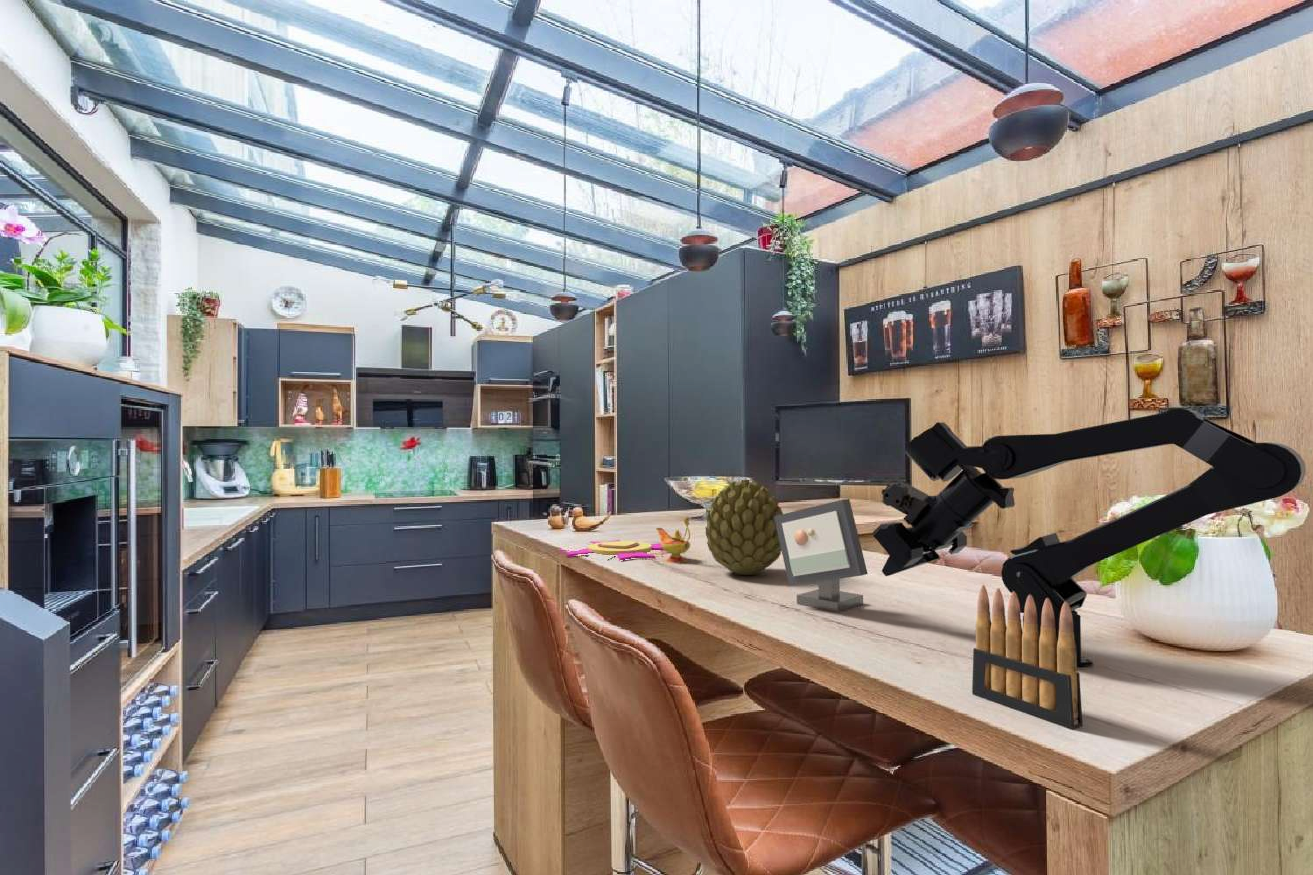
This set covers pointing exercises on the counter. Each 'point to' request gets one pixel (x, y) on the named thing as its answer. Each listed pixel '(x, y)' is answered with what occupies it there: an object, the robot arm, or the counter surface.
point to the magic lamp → (674, 543)
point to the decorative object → (744, 528)
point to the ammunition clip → (1027, 660)
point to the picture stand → (830, 597)
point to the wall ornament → (620, 549)
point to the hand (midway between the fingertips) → (884, 573)
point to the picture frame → (820, 543)
